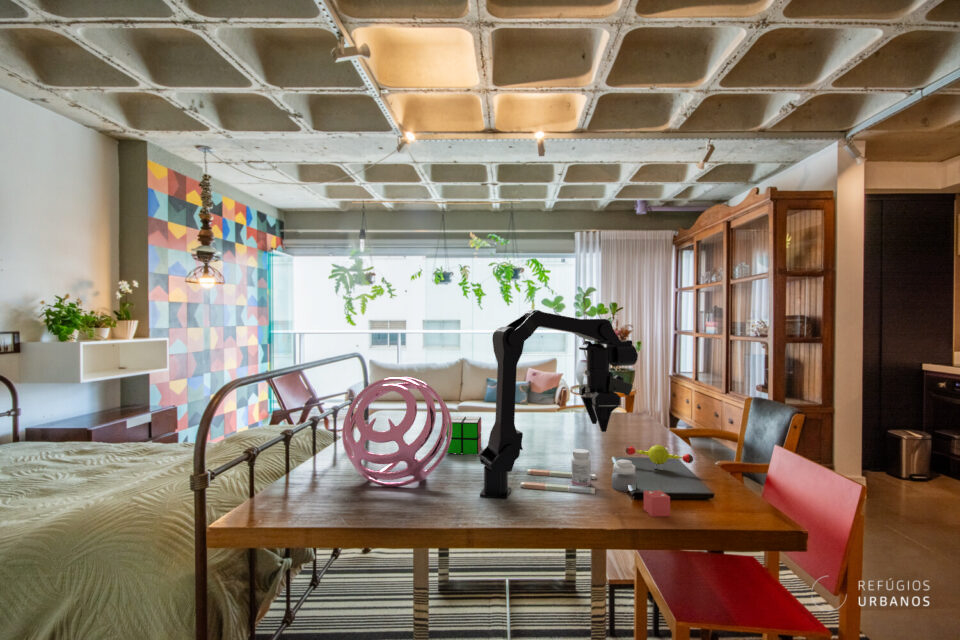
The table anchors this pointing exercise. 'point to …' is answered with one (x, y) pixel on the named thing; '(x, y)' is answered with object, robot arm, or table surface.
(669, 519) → the table surface
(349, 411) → the pink openwork sphere
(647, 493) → the red die
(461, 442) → the puzzle cube
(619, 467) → the dome
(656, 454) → the molecule model
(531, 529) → the table surface
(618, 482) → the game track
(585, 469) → the pill bottle
